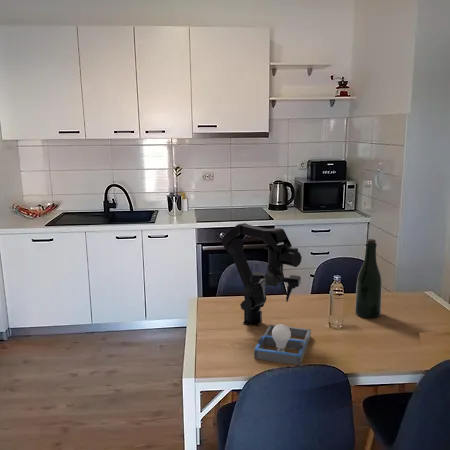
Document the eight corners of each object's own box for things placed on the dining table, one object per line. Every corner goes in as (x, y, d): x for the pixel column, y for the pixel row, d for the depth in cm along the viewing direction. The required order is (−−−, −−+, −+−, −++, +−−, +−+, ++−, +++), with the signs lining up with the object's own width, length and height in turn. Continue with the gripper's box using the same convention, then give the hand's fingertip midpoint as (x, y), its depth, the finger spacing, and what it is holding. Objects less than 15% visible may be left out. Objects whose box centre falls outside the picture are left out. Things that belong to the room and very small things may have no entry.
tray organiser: (254, 358, 158) (254, 345, 157) (269, 331, 179) (269, 319, 178) (300, 365, 153) (300, 351, 152) (310, 336, 174) (310, 324, 173)
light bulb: (289, 359, 157) (290, 329, 155) (270, 357, 158) (270, 327, 156) (291, 350, 163) (292, 321, 161) (272, 348, 165) (273, 320, 162)
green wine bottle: (374, 309, 200) (377, 236, 194) (385, 318, 190) (389, 241, 184) (351, 310, 199) (354, 237, 193) (361, 320, 189) (364, 242, 183)
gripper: (246, 265, 169) (246, 304, 173) (296, 269, 163) (295, 310, 166) (254, 257, 180) (254, 295, 183) (301, 261, 174) (300, 300, 177)
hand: (275, 300), depth 177 cm, fingers open, 9 cm apart
